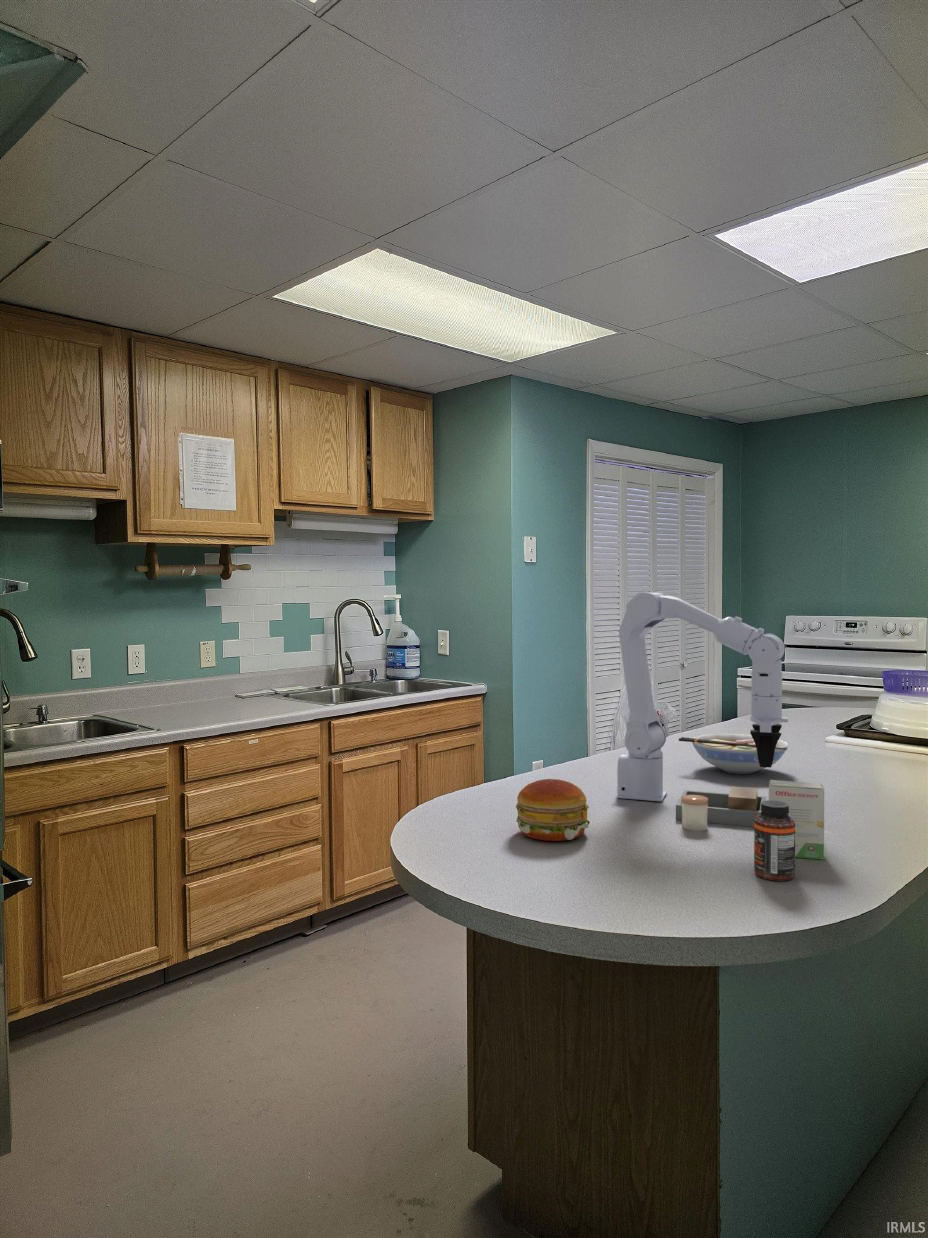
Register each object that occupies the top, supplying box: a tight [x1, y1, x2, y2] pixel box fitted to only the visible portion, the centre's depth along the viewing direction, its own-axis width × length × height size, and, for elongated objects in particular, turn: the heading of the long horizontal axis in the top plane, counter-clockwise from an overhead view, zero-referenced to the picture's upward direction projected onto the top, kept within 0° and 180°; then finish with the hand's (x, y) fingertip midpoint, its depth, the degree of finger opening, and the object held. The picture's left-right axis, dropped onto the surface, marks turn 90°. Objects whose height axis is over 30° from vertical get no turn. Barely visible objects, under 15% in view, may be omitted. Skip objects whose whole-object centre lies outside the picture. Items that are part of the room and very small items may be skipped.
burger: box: [515, 778, 591, 842], centre depth 149 cm, size 14×14×10 cm
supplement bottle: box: [753, 799, 796, 882], centre depth 126 cm, size 6×6×11 cm
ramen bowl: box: [678, 733, 789, 775], centre depth 201 cm, size 25×23×8 cm
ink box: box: [768, 779, 825, 860], centre depth 137 cm, size 9×5×12 cm, turn 71°
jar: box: [680, 795, 708, 832], centre depth 153 cm, size 5×5×6 cm
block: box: [727, 786, 758, 811], centre depth 159 cm, size 5×9×5 cm, turn 159°
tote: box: [675, 789, 767, 828], centre depth 161 cm, size 16×13×3 cm
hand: (766, 763), depth 163 cm, fingers open, 7 cm apart
